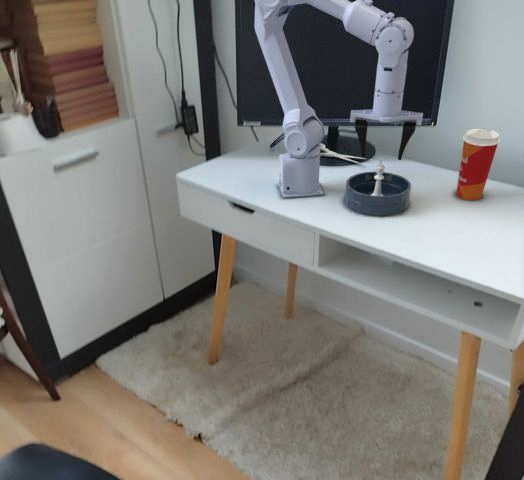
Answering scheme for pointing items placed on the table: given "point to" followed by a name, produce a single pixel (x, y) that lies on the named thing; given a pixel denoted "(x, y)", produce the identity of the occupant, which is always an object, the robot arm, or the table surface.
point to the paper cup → (476, 162)
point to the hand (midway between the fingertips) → (381, 157)
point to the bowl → (364, 202)
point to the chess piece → (378, 179)
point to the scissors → (335, 154)
